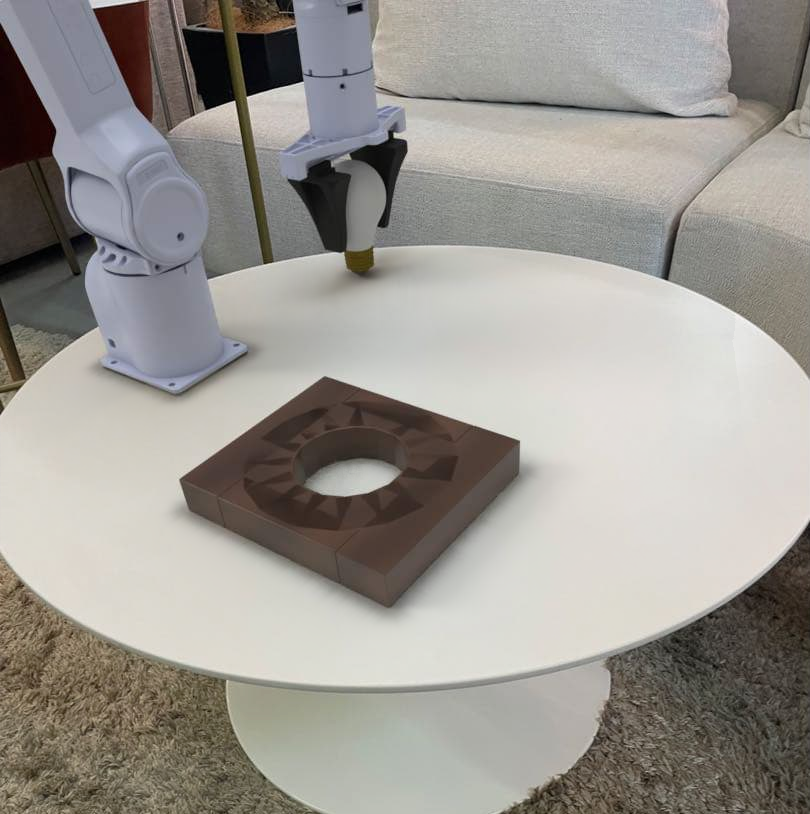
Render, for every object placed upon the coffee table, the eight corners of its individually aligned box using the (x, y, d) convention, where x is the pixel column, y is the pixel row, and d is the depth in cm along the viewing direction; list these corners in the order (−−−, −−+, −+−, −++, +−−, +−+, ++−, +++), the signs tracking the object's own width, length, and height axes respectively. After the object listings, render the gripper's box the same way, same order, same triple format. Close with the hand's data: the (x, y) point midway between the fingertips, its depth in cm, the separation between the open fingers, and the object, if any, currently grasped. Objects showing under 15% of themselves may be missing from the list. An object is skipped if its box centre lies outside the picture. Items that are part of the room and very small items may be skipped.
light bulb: (384, 287, 73) (374, 172, 66) (322, 286, 74) (306, 173, 68) (398, 261, 77) (389, 150, 71) (339, 260, 79) (325, 150, 72)
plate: (188, 510, 51) (178, 479, 50) (329, 405, 59) (324, 375, 58) (389, 608, 44) (384, 575, 42) (519, 472, 52) (520, 440, 50)
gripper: (316, 96, 58) (340, 276, 67) (430, 51, 67) (437, 217, 76) (247, 88, 62) (278, 260, 71) (363, 46, 70) (378, 205, 79)
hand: (356, 237), depth 74 cm, fingers closed on light bulb, 6 cm apart
